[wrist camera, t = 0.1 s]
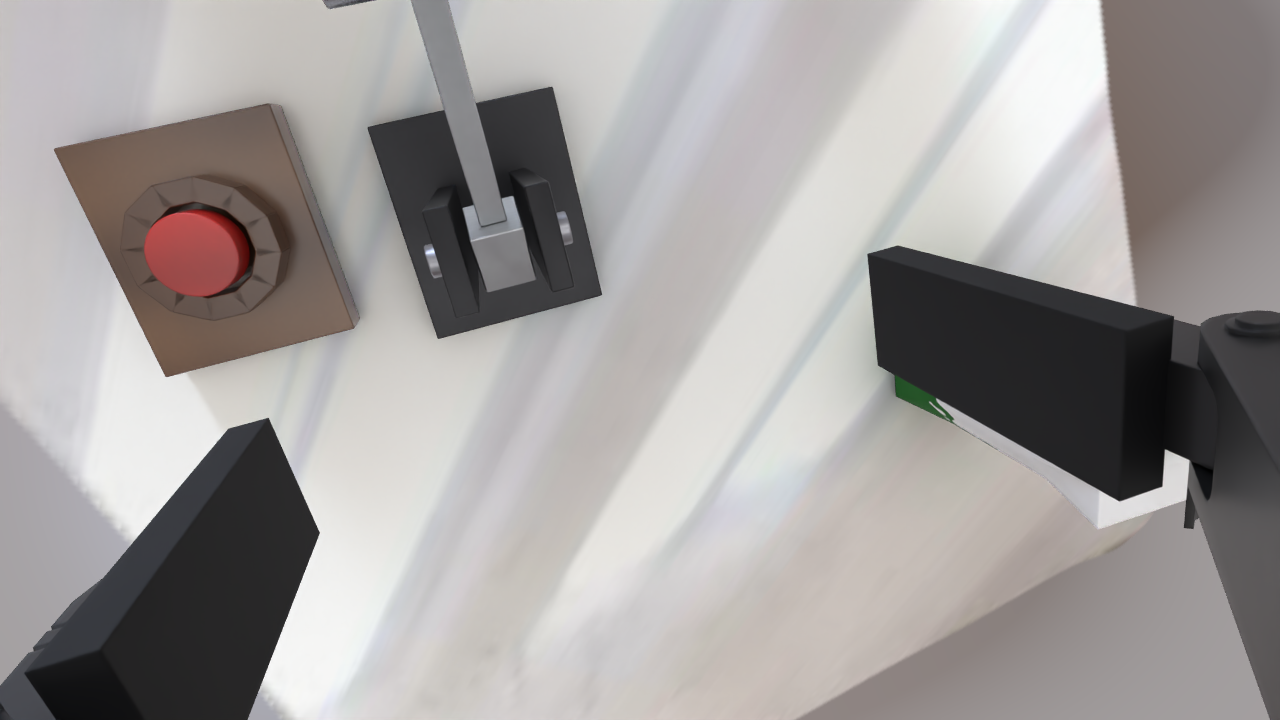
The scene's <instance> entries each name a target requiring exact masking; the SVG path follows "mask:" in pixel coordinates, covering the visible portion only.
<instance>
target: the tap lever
mask: <svg viewBox="0 0 1280 720" xmlns="http://www.w3.org/2000/svg"><path fill="white" fill-rule="evenodd" d="M370 1H375V0H323V2H324V4H325V5H326V7H327V8H328V9H333V8H339V7H344V6H349V5H354V4H359V3H364V2H370ZM411 3H412V6H413V9H414V13H415V16H416V19H417V22H418V26H419V29H420V32H421V35H422V39H423V42H424V45H425V48H426V52H427V55H428V58H429V61H430V65H431V68H432V71H433V74H434V78H435V81H436V84H437V87H438V91H439V94H440V97H441V100H442V104H443V107H444V110H445V113H446V117H447V120H448V123H449V126H450V130H451V133H452V136H453V139H454V143H455V146H456V149H457V152H458V156H459V159H460V162H461V165H462V169H463V172H464V175H465V178H466V182H467V185H468V188H469V191H470V195H471V198H472V201H473V204H474V205H473V206H469V207H465V208H463V209H462V211H463V215H464V219H465V224H466V228H467V232H468V237H469V241H470V244H471V247H472V250H473V253H474V256H475V260H476V263H477V266H478V269H479V272H480V275H481V278H482V281H483V284H484V287H485V290H486V292H491V291H495V290H499V289H503V288H506V287H510V286H514V285H518V284H522V283H526V282H530V281H533V280H536V274H535V270H534V266H533V262H532V258H531V254H530V250H529V246H528V242H527V238H526V234H525V230H524V226H523V223H522V220H521V217H520V214H519V211H518V208H517V205H516V202H515V199H514V197H513V196H510V197H506V198H502V199H501V195H500V192H499V188H498V184H497V181H496V177H495V173H494V169H493V166H492V162H491V158H490V155H489V151H488V147H487V143H486V140H485V136H484V132H483V129H482V125H481V121H480V117H479V114H478V110H477V106H476V103H475V99H474V95H473V91H472V88H471V84H470V80H469V77H468V73H467V69H466V66H465V62H464V58H463V54H462V51H461V47H460V43H459V40H458V36H457V32H456V28H455V25H454V21H453V17H452V14H451V10H450V6H449V2H448V0H411Z"/></svg>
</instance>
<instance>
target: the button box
mask: <svg viewBox="0 0 1280 720" xmlns="http://www.w3.org/2000/svg"><path fill="white" fill-rule="evenodd" d="M54 151H55V153H56V155H57V157H58V159H59V161H60V163H61V165H62V167H63V169H64V171H65V173H66V176H67V178H68V180H69V182H70V184H71V186H72V188H73V190H74V192H75V194H76V196H77V198H78V200H79V202H80V204H81V206H82V208H83V210H84V212H85V214H86V216H87V218H88V220H89V222H90V224H91V226H92V228H93V230H94V232H95V234H96V236H97V238H98V240H99V243H100V245H101V247H102V249H103V251H104V253H105V255H106V257H107V259H108V261H109V263H110V265H111V267H112V269H113V271H114V273H115V275H116V277H117V279H118V281H119V283H120V285H121V287H122V289H123V291H124V293H125V295H126V297H127V299H128V301H129V303H130V305H131V307H132V310H133V312H134V314H135V316H136V318H137V320H138V322H139V324H140V326H141V328H142V330H143V332H144V334H145V336H146V338H147V340H148V342H149V344H150V346H151V348H152V350H153V352H154V354H155V356H156V358H157V360H158V362H159V364H160V366H161V368H162V370H163V372H164V374H165V376H166V377H169V376H173V375H177V374H181V373H185V372H188V371H192V370H196V369H200V368H204V367H208V366H212V365H215V364H219V363H223V362H227V361H231V360H235V359H238V358H242V357H246V356H250V355H254V354H258V353H262V352H265V351H269V350H273V349H277V348H281V347H285V346H288V345H292V344H296V343H300V342H304V341H308V340H312V339H315V338H319V337H323V336H327V335H331V334H335V333H338V332H342V331H346V330H350V329H353V328H354V327H355V326H356V324H357V323H358V321H359V319H360V317H359V314H358V312H357V309H356V306H355V304H354V301H353V298H352V296H351V293H350V290H349V288H348V285H347V282H346V279H345V277H344V274H343V271H342V269H341V266H340V263H339V261H338V258H337V255H336V253H335V250H334V247H333V245H332V242H331V239H330V236H329V234H328V231H327V228H326V226H325V223H324V220H323V218H322V215H321V212H320V210H319V207H318V204H317V202H316V199H315V196H314V193H313V191H312V188H311V185H310V183H309V180H308V177H307V175H306V172H305V169H304V167H303V164H302V161H301V159H300V156H299V153H298V150H297V148H296V145H295V142H294V140H293V137H292V134H291V132H290V129H289V126H288V124H287V121H286V118H285V116H284V113H283V110H282V107H281V106H280V105H274V104H263V105H259V106H254V107H249V108H244V109H240V110H235V111H230V112H225V113H220V114H216V115H211V116H206V117H201V118H197V119H192V120H187V121H182V122H178V123H173V124H168V125H163V126H159V127H154V128H149V129H144V130H139V131H135V132H130V133H125V134H120V135H116V136H111V137H106V138H101V139H97V140H92V141H87V142H82V143H78V144H73V145H68V146H63V147H58V148H55V149H54ZM191 209H205V210H210V211H214V212H217V213H219V214H221V215H223V216H225V217H227V218H228V219H230V220H231V221H232V222H234V223H235V224H236V225H237V226H238V227H239V229H240V230H241V231H242V233H243V234H244V236H245V238H246V240H247V243H248V245H249V251H250V259H249V264H248V267H247V269H246V271H245V273H244V275H243V276H242V277H241V278H240V279H239V280H238V281H237V282H235V283H234V284H232V285H231V286H229V287H227V288H226V289H224V290H222V291H221V292H219V293H216V294H213V295H210V296H203V297H194V296H187V295H183V294H180V293H178V292H175V291H173V290H171V289H169V288H168V287H166V286H165V285H163V284H162V283H161V282H160V281H159V280H158V279H157V278H156V277H155V276H154V275H153V273H152V272H151V270H150V268H149V267H148V264H147V262H146V258H145V253H144V244H145V239H146V236H147V234H148V232H149V230H150V229H151V227H152V226H153V225H154V224H155V223H156V222H157V221H159V220H160V219H162V218H163V217H166V216H168V215H171V214H174V213H178V212H182V211H186V210H191Z"/></svg>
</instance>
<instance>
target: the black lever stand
mask: <svg viewBox="0 0 1280 720" xmlns="http://www.w3.org/2000/svg"><path fill="white" fill-rule="evenodd" d="M476 106H477V110H478V114H479V117H480V121H481V125H482V129H483V132H484V136H485V140H486V143H487V147H488V151H489V155H490V158H491V162H492V166H493V169H494V173H495V177H496V181H497V184H498V188H499V192H500V195H501V199H502V198H506V197H510V196H513V197H514V199H515V202H516V205H517V208H518V211H519V214H520V217H521V220H522V223H523V226H524V230H525V234H526V238H527V242H528V246H529V250H530V254H531V258H532V262H533V266H534V270H535V274H536V280H533V281H530V282H526V283H522V284H518V285H514V286H510V287H506V288H503V289H499V290H495V291H491V292H486V290H485V287H484V284H483V281H482V278H481V275H480V272H479V269H478V266H477V263H476V260H475V256H474V253H473V250H472V247H471V244H470V241H469V237H468V232H467V228H466V224H465V219H464V215H463V211H462V209H463V208H465V207H469V206H473V205H474V204H473V201H472V198H471V195H470V191H469V188H468V185H467V182H466V178H465V175H464V172H463V169H462V165H461V162H460V159H459V156H458V152H457V149H456V146H455V143H454V139H453V136H452V133H451V130H450V126H449V123H448V120H447V117H446V113H445V110H443V111H438V112H434V113H429V114H425V115H420V116H416V117H411V118H406V119H402V120H397V121H393V122H388V123H384V124H379V125H374V126H370V127H368V131H369V134H370V137H371V140H372V143H373V146H374V149H375V152H376V155H377V158H378V161H379V164H380V167H381V170H382V173H383V176H384V179H385V182H386V185H387V188H388V191H389V194H390V197H391V200H392V203H393V206H394V209H395V212H396V215H397V218H398V221H399V224H400V227H401V230H402V233H403V236H404V239H405V242H406V245H407V248H408V251H409V254H410V257H411V260H412V263H413V266H414V269H415V272H416V275H417V278H418V281H419V284H420V287H421V290H422V293H423V296H424V299H425V302H426V305H427V308H428V311H429V314H430V317H431V320H432V323H433V326H434V329H435V332H436V335H437V338H438V339H440V338H444V337H448V336H451V335H455V334H459V333H463V332H466V331H470V330H474V329H478V328H481V327H485V326H489V325H493V324H496V323H500V322H504V321H508V320H511V319H515V318H519V317H523V316H526V315H530V314H534V313H538V312H541V311H545V310H549V309H553V308H556V307H560V306H564V305H568V304H571V303H575V302H579V301H583V300H586V299H590V298H594V297H598V296H601V295H602V292H601V288H600V284H599V280H598V275H597V271H596V267H595V263H594V259H593V254H592V250H591V246H590V242H589V238H588V233H587V229H586V225H585V221H584V217H583V213H582V208H581V204H580V200H579V196H578V192H577V187H576V183H575V179H574V175H573V171H572V166H571V162H570V158H569V154H568V150H567V145H566V141H565V137H564V133H563V129H562V124H561V120H560V116H559V112H558V108H557V103H556V99H555V95H554V91H553V88H552V87H548V88H543V89H539V90H534V91H530V92H525V93H521V94H516V95H511V96H507V97H502V98H498V99H493V100H489V101H484V102H479V103H476Z"/></svg>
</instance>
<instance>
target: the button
mask: <svg viewBox="0 0 1280 720" xmlns="http://www.w3.org/2000/svg"><path fill="white" fill-rule="evenodd" d="M144 253H145V258H146V262H147V264H148V267H149V268H150V270H151V272H152V273H153V275H154V276H155V277H156V278H157V279H158V280H159V281H160V282H161V283H162V284H163V285H165V286H166V287H168V288H169V289H171V290H173V291H175V292H178V293H180V294H183V295H187V296H194V297H203V296H210V295H213V294H216V293H219V292H221V291H222V290H224V289H226V288H227V287H229V286H231V285H232V284H234V283H235V282H237V281H238V280H239V279H240V278H241V277H242V276H243V275H244V273H245V271H246V269H247V267H248V264H249V259H250V251H249V245H248V243H247V240H246V238H245V236H244V234H243V233H242V231H241V230H240V229H239V227H238V226H237V225H236V224H235V223H234V222H232V221H231V220H230V219H228V218H227V217H225V216H223V215H221V214H219V213H217V212H214V211H210V210H205V209H191V210H186V211H182V212H178V213H174V214H171V215H168V216H166V217H163V218H162V219H160V220H159V221H157V222H156V223H155V224H154V225H153V226H152V227H151V229H150V230H149V232H148V234H147V236H146V239H145V244H144Z"/></svg>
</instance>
